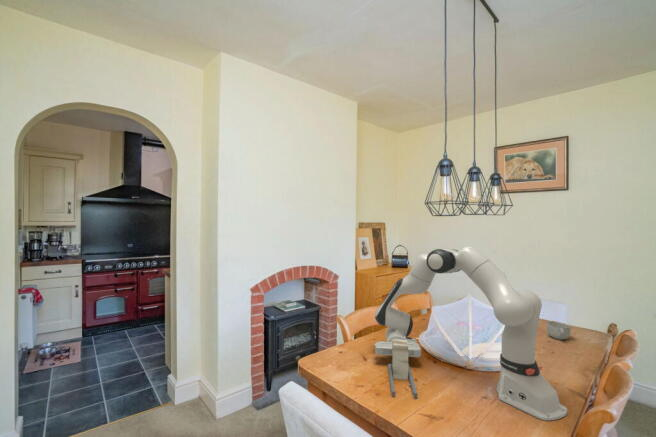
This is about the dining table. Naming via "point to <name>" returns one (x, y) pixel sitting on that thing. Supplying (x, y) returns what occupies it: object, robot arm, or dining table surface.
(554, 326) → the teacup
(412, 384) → the chute
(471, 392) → the dining table surface
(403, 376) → the cream block
